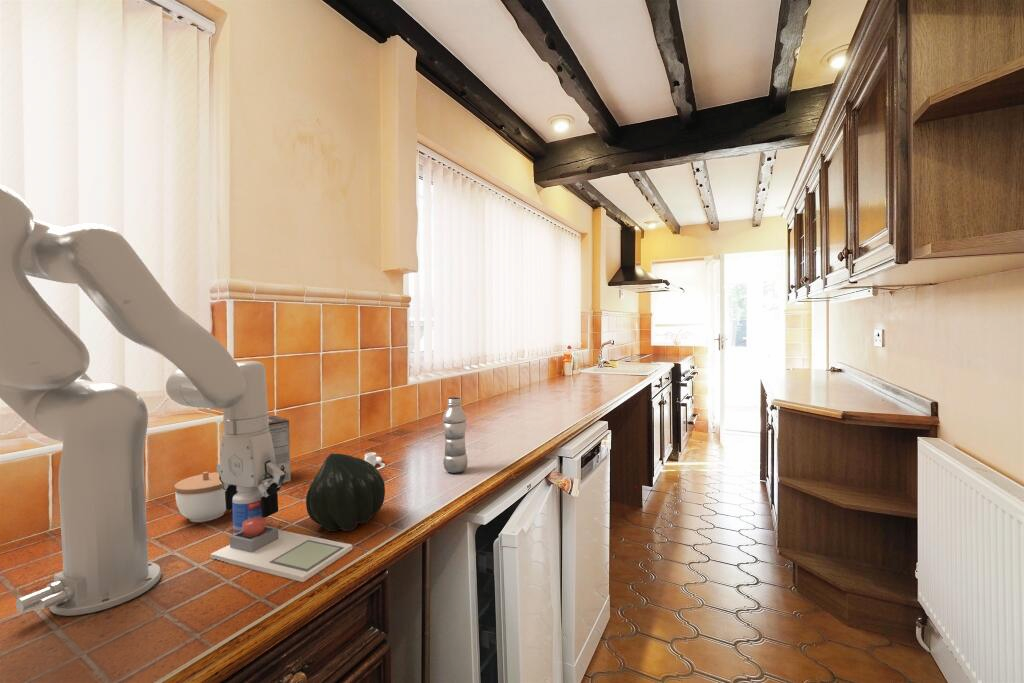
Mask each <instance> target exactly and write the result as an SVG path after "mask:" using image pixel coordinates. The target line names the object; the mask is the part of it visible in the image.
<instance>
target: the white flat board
mask: <svg viewBox="0 0 1024 683" xmlns="http://www.w3.org/2000/svg"><path fill="white" fill-rule="evenodd" d="M353 547H354V546H353V544H351V543H345V542H339V541H336V540H330V539H327V538H320V537H315V536H311V535H307V534H306V535H305V534H302V533H296V532H292V531H287V530H282V529H279V528H278V527H276V526H275V527H274V526H271V525H270V526H269V525H266V530H265V532H264V533H262V534H260V535H257V536H252V537H245V536H243V530H242V531H240V532H238V533H236V534H231V535H230V536H229V544H228V545H226V546H224V547H222V548H220V549H217V550H216V551H214V552H211V553H210V559H211V558H212V560H214V559H217V560H216V561H218V560H221V561H220V562H222V561H225V562H224V563H226V562H228V563H227V564H229V565H230V564H231V565H234V566H238V567H243V568H245V569H250V570H255V571H258V572H262V573H266V574H270V575H274V576H277V577H280V578H285V579H290V580H293V581H297V582H300V583H304V582H306V581H307V580H308V579H310V578H312V577H313V576H315V575H316V574H317V573H319V572H321V571H322V570H324V569H326V568H327V567H328V566H330V565H331V564H333V563H334V562H336V561H337V560H339V559H340V558H342V557H343V556H345V555H346V554H348V553H349V552H351V551H352V550H353Z"/></svg>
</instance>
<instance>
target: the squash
mask: <svg viewBox="0 0 1024 683" xmlns="http://www.w3.org/2000/svg"><path fill="white" fill-rule="evenodd" d="M385 494H386V487H385V480H384V479H383V477H382V475H381V472H380V471H379V469H378V470H377V468H376V466H375V467H374V466H373V465H372V464H370V463H369V462H367V461H365V460H364V459H362V458H360V457H355V456H352V455H348V454H343V453H333V452H332V453H329V455H328V456H327V457H326V459H325V460H324V461H323V463H322V465H321V467H320V468H319V470H318V472H317V473H316V475H315V476H314V478H313V480H312V482H311V484H310V485H309V488H308V490H307V493H306V498H305V506H306V507H305V508H306V512H307V513H308V517H309V518H310V519H311V520H312V521H313V522H314V523H316V524H317V525H319V526H321V527H323V528H324V529H325V530H327V531H329V532H337V531H340V530H343V531H344V532H347V531H348V532H349V531H352V530H353V529H355V528H356V526H358V524H365V523H367V522H369V520H370V519H371V517H374V516H375V515H376V514H377V513H379V511H380V510H381V508H382V507H383V505H384V501H385ZM323 528H322V529H323Z"/></svg>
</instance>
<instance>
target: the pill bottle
mask: <svg viewBox="0 0 1024 683" xmlns="http://www.w3.org/2000/svg"><path fill="white" fill-rule="evenodd" d="M237 491H238V493H236V494H235V495H234V496H233V499H232V506H233V509H232V533H233V534H232V535H234V534H236V533H238V532H240V531H242V523H243V522H244V521H245V520H247V519H250V518H254V517H262V509H261V497H263V494H262V492H261V491H260V489H259V488H258V486H257V487H255V488H247V487H241V486H237ZM264 518H265V517H264ZM265 519H266V518H265Z"/></svg>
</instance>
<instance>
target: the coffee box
mask: <svg viewBox="0 0 1024 683" xmlns="http://www.w3.org/2000/svg"><path fill="white" fill-rule="evenodd" d="M268 420H269V430H268V431H270V434H271V437H272V442H273V447H274V453H275V463H276V466H277V467H278V468H279V469H280V470H282V471H283V472H284V473H285V478H284V480H283V484H284V483H289V482H291V450H290V449H291V448H290V443H291V442H290V420H289V419H286V418H283V417H280V416H279V415H272V416H271V415H270V416H268ZM265 485H266V487H267V488H269V486H270V485H269V483H267V484H265Z"/></svg>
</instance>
